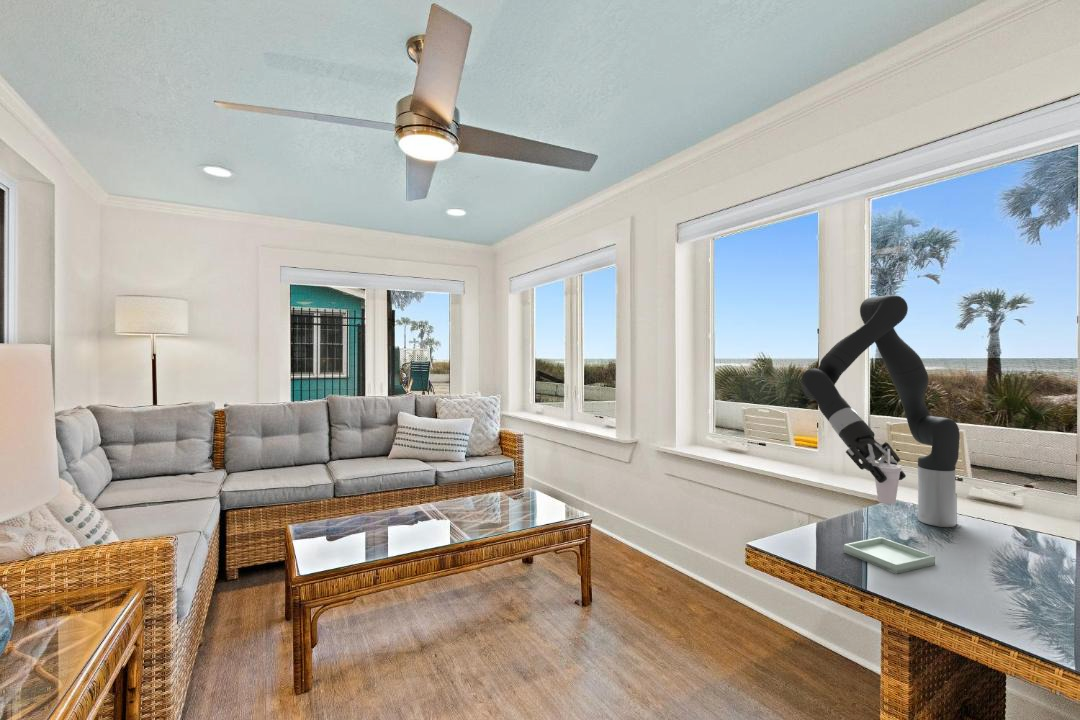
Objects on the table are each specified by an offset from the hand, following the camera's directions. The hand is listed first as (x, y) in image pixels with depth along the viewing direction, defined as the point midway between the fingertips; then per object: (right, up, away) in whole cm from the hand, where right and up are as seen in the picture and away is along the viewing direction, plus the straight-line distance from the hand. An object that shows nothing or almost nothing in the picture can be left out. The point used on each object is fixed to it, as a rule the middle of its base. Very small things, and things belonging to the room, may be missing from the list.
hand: (893, 479), depth 127 cm
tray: (0, -21, +2) cm, 21 cm away
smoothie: (0, -7, +2) cm, 7 cm away
